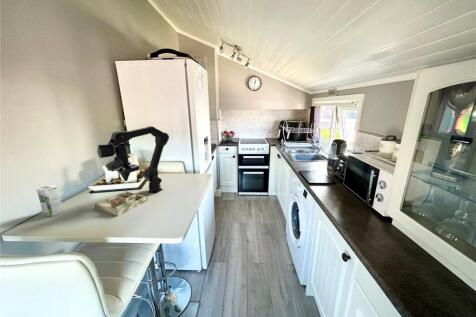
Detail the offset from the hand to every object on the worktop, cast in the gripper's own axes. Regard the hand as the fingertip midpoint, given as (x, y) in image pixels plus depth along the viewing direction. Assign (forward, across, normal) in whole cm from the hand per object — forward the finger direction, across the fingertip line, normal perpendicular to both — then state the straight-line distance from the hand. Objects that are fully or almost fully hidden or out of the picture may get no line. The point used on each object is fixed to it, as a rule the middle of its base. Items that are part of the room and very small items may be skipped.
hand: (125, 181), depth 109 cm
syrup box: (+12, -22, -26) cm, 36 cm away
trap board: (+12, +2, -5) cm, 13 cm away
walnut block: (+10, +7, -10) cm, 15 cm away
